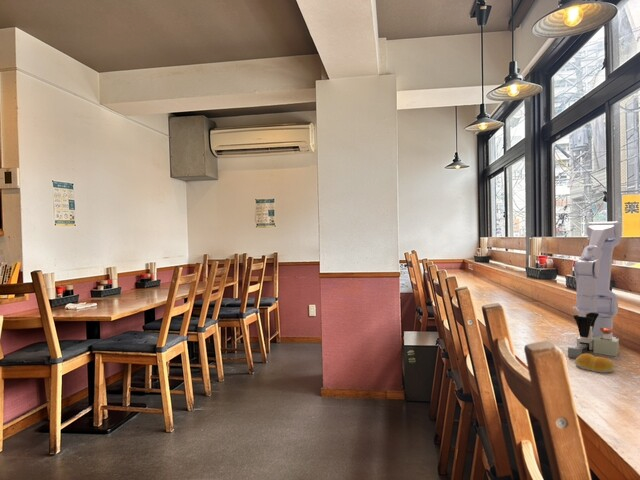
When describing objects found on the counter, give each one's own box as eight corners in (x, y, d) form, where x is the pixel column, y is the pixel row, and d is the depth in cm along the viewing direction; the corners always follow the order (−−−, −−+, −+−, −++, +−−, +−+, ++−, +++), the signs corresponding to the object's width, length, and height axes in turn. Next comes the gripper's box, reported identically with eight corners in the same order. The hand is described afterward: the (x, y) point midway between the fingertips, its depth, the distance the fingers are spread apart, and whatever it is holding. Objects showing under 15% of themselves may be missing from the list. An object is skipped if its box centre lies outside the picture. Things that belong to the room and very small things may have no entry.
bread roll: (609, 375, 110) (609, 361, 110) (572, 367, 117) (572, 354, 117) (618, 369, 115) (618, 355, 115) (582, 362, 122) (582, 349, 122)
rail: (583, 343, 144) (583, 334, 144) (595, 345, 141) (596, 336, 141) (567, 357, 126) (568, 347, 126) (581, 359, 124) (581, 349, 124)
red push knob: (600, 343, 134) (601, 327, 134) (613, 344, 132) (613, 328, 132) (599, 345, 132) (599, 328, 132) (611, 346, 130) (611, 330, 130)
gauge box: (596, 349, 136) (596, 335, 136) (618, 352, 132) (618, 338, 132) (593, 352, 132) (593, 338, 132) (616, 356, 128) (616, 342, 128)
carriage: (580, 344, 142) (580, 324, 142) (595, 346, 139) (595, 326, 139) (576, 347, 137) (576, 326, 137) (592, 350, 134) (592, 328, 134)
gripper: (577, 292, 146) (577, 330, 146) (567, 296, 135) (567, 336, 135) (600, 294, 141) (600, 333, 141) (593, 298, 131) (592, 340, 131)
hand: (586, 335), depth 138 cm, fingers open, 7 cm apart
